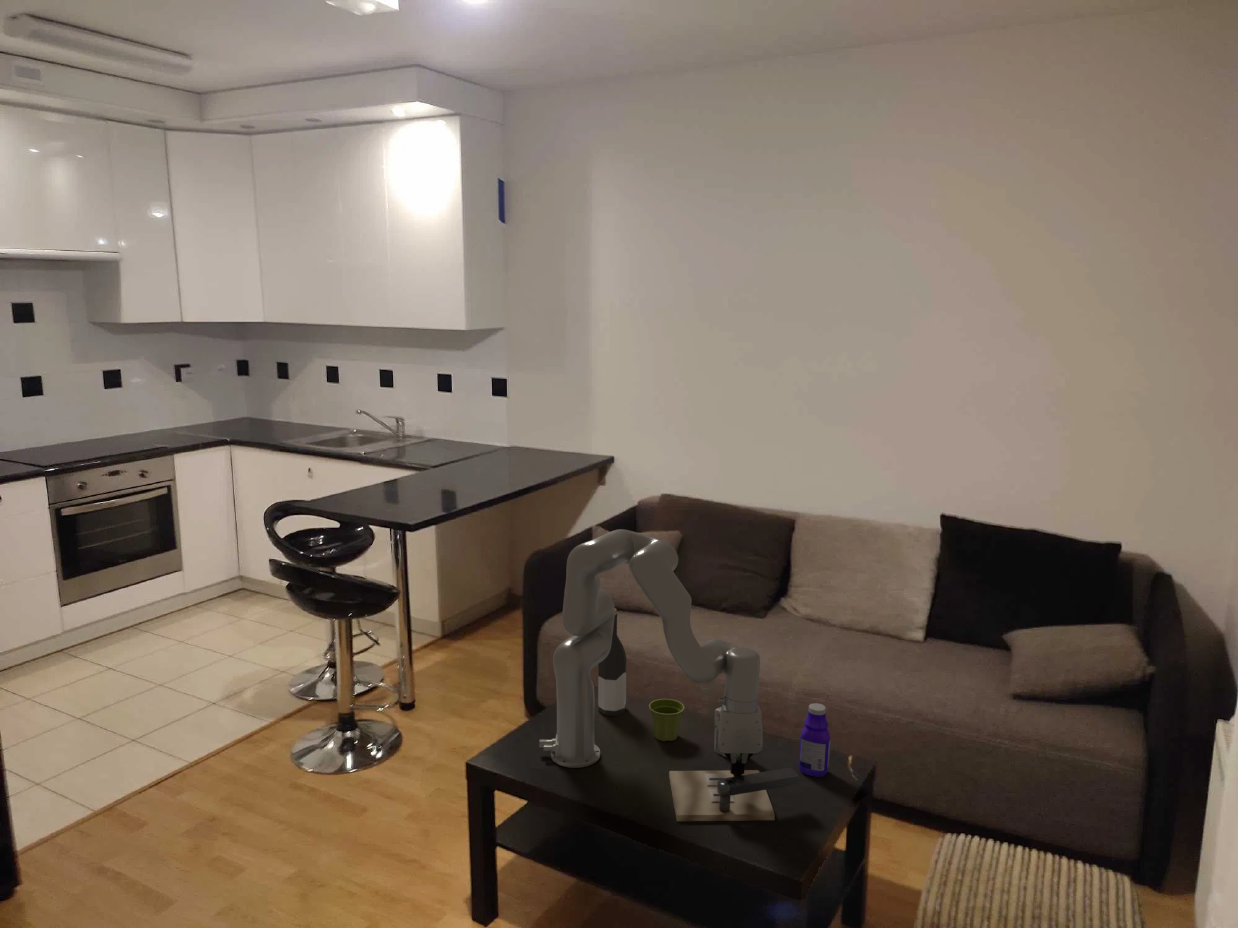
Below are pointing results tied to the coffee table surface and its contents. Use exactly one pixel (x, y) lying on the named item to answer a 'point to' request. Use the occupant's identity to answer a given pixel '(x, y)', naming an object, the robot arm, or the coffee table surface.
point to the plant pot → (666, 718)
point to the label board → (715, 798)
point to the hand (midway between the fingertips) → (737, 776)
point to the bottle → (815, 742)
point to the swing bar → (757, 782)
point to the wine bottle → (612, 678)
